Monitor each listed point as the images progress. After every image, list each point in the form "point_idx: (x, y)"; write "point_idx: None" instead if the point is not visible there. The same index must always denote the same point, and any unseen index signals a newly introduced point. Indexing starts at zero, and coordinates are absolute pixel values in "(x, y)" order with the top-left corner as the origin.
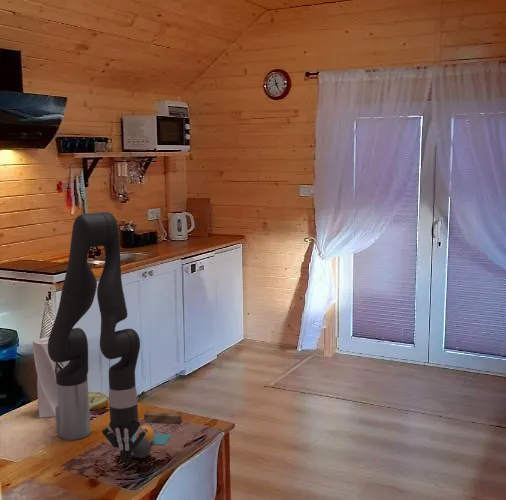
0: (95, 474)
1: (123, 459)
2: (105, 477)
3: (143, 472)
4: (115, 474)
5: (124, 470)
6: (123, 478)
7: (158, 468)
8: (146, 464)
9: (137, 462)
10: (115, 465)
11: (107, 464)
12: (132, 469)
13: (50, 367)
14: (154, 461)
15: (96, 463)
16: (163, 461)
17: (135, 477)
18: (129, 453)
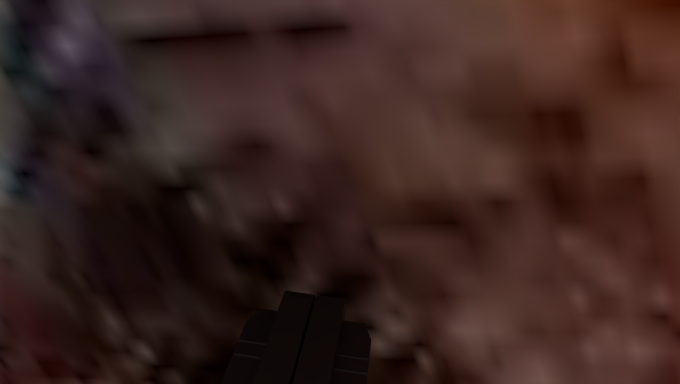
0: (651, 122)
1: (324, 320)
2: (500, 56)
3: (108, 181)
4: (393, 132)
5: (320, 215)
6: (265, 45)
7: (11, 253)
8: (154, 317)
9: None
10: (450, 305)
11: (542, 324)
12: (245, 235)
13: None
14: (110, 359)
15: (673, 344)
16: (37, 356)
17: (139, 76)
18: (226, 381)
